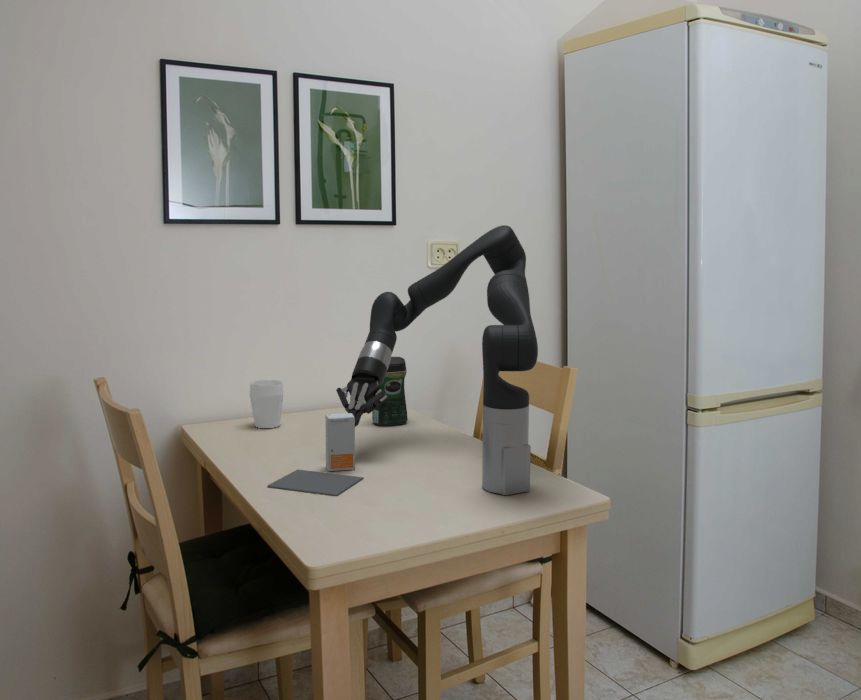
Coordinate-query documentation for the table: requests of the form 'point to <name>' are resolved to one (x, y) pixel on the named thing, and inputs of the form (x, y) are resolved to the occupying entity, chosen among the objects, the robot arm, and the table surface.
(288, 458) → the table surface
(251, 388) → the cup
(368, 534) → the table surface
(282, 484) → the mat
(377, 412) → the coffee jar
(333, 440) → the skincare box
